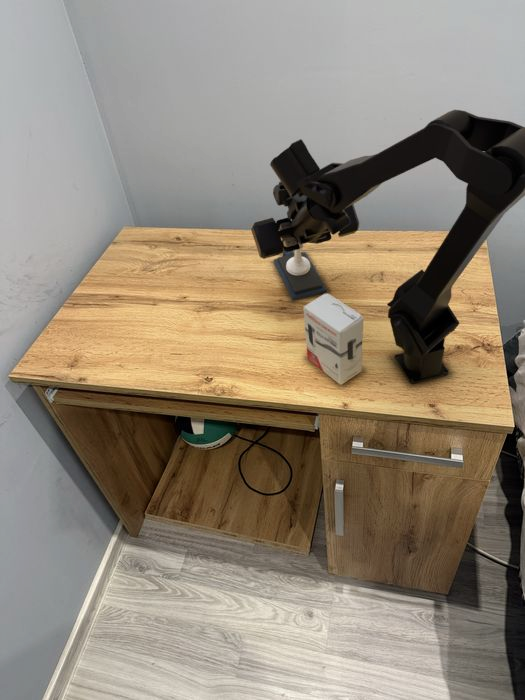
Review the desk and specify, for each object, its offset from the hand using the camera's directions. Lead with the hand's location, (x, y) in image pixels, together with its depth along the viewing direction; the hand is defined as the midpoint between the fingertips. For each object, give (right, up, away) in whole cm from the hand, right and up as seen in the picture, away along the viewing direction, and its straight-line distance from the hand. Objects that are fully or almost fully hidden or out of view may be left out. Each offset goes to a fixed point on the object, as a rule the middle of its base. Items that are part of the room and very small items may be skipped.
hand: (295, 240), depth 97 cm
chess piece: (+1, -4, +5) cm, 6 cm away
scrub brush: (0, -4, +8) cm, 9 cm away
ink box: (+5, -24, -14) cm, 28 cm away
